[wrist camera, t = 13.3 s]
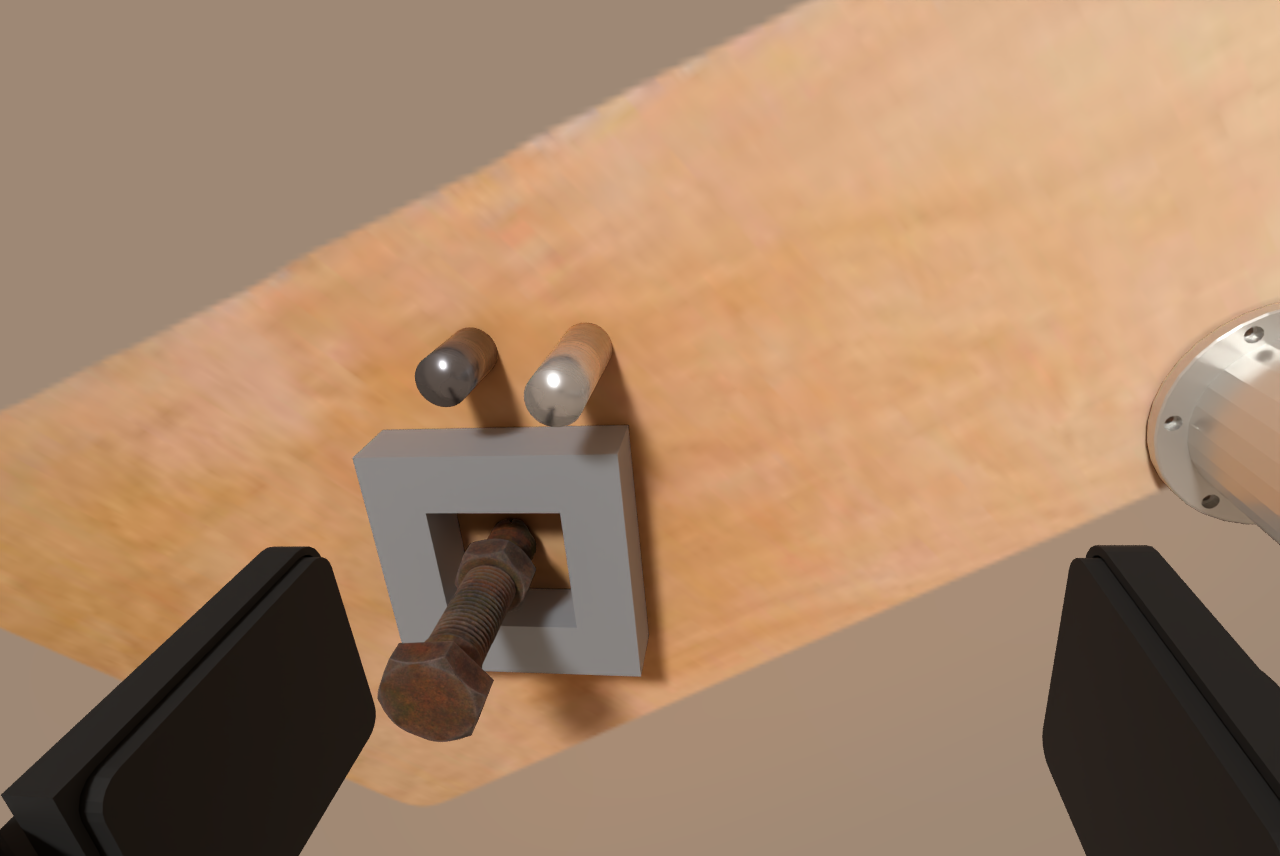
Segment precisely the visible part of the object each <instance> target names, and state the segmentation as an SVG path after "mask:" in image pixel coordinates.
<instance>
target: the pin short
mask: <svg viewBox="0 0 1280 856" xmlns="http://www.w3.org/2000/svg"><path fill="white" fill-rule="evenodd" d="M496 361H497V348H496V345H495V343H494V341H493V340H492V338H491V337H490V336H489V335H488V334H486V333H485V332H484V331H482V330H480V329H477V328H463V329H461V330H459V331H457V332H456V333H455V334H454V335H452V336H451V337H450V338H449V339H448V340H446V341H445V342H444V343H443V344H441V345H440V346H439V347H438V348H437V349H435V350H434V351H433V352H432V353H430V354H429V355H428V356H427V357H426V358H424V359H423V360H422V361H421V362H420V363H419V365H418V366H417V368H416V372H415V381H416V385H417V388H418V390H419V391H420V393H421V394H422V396H423V397H424V398H425V399H427V400H428V401H429V402H431V403H433V404H435V405H437V406H441V407H451V406H455V405H457V404H459V403H460V402H462V401H463V399H464V398H465V397H466V396H467V395H468V394H469V393H470V392H471V391H472V390H473V389H474V388H475V387H476V386H477V384H478V383H479V382H480V381H481V380H482V379H483V378H484V377H485V376H486V375H487V374H488V373H489V372H490V371H491V369H492V368H493V367H494V366H495V364H496Z"/></svg>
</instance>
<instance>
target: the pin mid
mask: <svg viewBox="0 0 1280 856" xmlns="http://www.w3.org/2000/svg"><path fill="white" fill-rule="evenodd" d="M611 355H612V343H611V340H610V338H609V336H608V334H607V333H606V332H605V331H604V330H603V329H602V328H601V327H599V326H597V325H595V324H592V323H579V324H576V325H574V326H572V327H571V328H569V329H568V331H567V332H566V333H565V334H564V336H563V337H562V338H561V340H560V341H559V342H558V343H557V345H556V346H555V347H554V349H553V350H552V351H551V353H550V354H549V355H548V357H547V358H546V359H545V360H544V362H543V363H542V364H541V366H540V367H539V368H538V370H537V371H536V372H535V373H534V375H533V376H532V377H531V379H530V380H529V381H528V383H527V385H526V387H525V391H524V401H525V404H526V407H527V409H528V411H529V412H530V414H531V415H532V416H533V417H534V418H535V419H536V420H537V421H539V422H540V423H542V424H544V425H547V426H551V427H564V426H567V425H570V424H572V423H573V422H575V421H576V420H577V419H578V418H579V416H580V415H581V413H582V411H583V409H584V407H585V405H586V404H587V402H588V400H589V398H590V396H591V394H592V392H593V390H594V388H595V387H596V385H597V383H598V381H599V379H600V377H601V375H602V373H603V371H604V370H605V368H606V366H607V364H608V362H609V360H610V358H611Z"/></svg>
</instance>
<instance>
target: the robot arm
mask: <svg viewBox="0 0 1280 856" xmlns="http://www.w3.org/2000/svg"><path fill="white" fill-rule="evenodd" d="M1246 331H1247V332H1246ZM1147 444H1148V449H1149V453H1150V458H1151V461H1152V463H1153V465H1154V467H1155V469H1156V471H1157V473H1158V475H1159V477H1160V478H1161V479H1162V480H1163V482H1164V483H1165V484H1166V485H1167V486H1168V487H1169V489H1170V490H1171V491H1172V492H1173V493H1175V494H1176V495H1177V496H1178V497H1179V498H1180V499H1181V500H1182V501H1184V502H1185V503H1186V504H1187V505H1189V506H1190V507H1192V508H1194V509H1195V510H1197V511H1199V512H1201V513H1203V514H1206V515H1208V516H1211V517H1214V518H1217V519H1221V520H1223V521H1229V522H1235V523H1241V524H1256V525H1258V526H1259V527H1260V528H1261V529H1262V530H1263V531H1264V532H1266V533H1267V534H1268V535H1269V536H1270V537H1271V538H1272V539H1274V540H1275V541H1276V542H1277V543H1278V544H1279V545H1280V302H1279V303H1274V304H1270V305H1267V306H1265V307H1262V308H1259V309H1256V310H1253V311H1250V312H1248V313H1245V314H1243V315H1241V316H1239V317H1237V318H1235V319H1233V320H1231V321H1229V322H1228V323H1226V324H1224V325H1222V326H1220V327H1218V328H1217V329H1216V330H1214V331H1213V332H1211V333H1210V334H1209V335H1207V336H1206V337H1204V338H1203V339H1202V340H1200V341H1199V342H1198V343H1196V344H1195V345H1194V346H1193V347H1192V348H1191V349H1190V350H1189V351H1188V352H1187V353H1186V354H1185V355H1184V356H1183V357H1182V358H1181V359H1180V360H1179V361H1178V362H1177V363H1176V365H1175V366H1174V368H1173V369H1172V370H1171V372H1170V373H1169V374H1168V376H1167V377H1166V378H1165V380H1164V381H1163V383H1162V385H1161V387H1160V389H1159V391H1158V393H1157V395H1156V397H1155V399H1154V401H1153V404H1152V408H1151V412H1150V416H1149V419H1148V430H1147ZM375 718H376V710H375V705H374V702H373V698H372V695H371V692H370V689H369V685H368V682H367V679H366V676H365V673H364V669H363V666H362V663H361V660H360V657H359V653H358V650H357V647H356V644H355V640H354V637H353V634H352V631H351V628H350V624H349V621H348V618H347V615H346V611H345V608H344V605H343V602H342V599H341V595H340V592H339V589H338V586H337V583H336V579H335V576H334V573H333V570H332V567H331V565H330V562H329V561H328V560H327V559H326V558H323V557H321V556H320V554H319V553H318V552H317V551H316V550H315V549H314V548H311V547H269V548H266V549H265V550H263V551H262V552H261V553H259V554H258V555H257V556H256V557H255V558H254V559H253V560H252V561H251V562H250V563H249V564H248V565H247V566H246V567H244V568H243V569H242V570H241V571H240V572H239V573H238V574H237V575H236V576H235V577H234V578H233V579H232V580H231V581H229V582H228V583H227V584H226V585H225V586H224V587H223V588H222V589H221V590H220V591H219V592H218V593H217V594H216V595H214V596H213V597H212V598H211V599H210V600H209V601H208V602H207V603H206V604H205V605H204V606H203V607H202V608H201V609H200V610H198V611H197V612H196V613H195V614H194V615H193V616H192V617H191V618H190V619H189V620H188V621H187V622H186V623H185V624H183V625H182V626H181V627H180V628H179V629H178V630H177V631H176V632H175V633H174V634H173V635H172V636H171V637H170V638H168V639H167V640H166V641H165V642H164V643H163V644H162V645H161V646H160V647H159V648H158V649H157V650H156V651H155V652H153V653H152V654H151V655H150V656H149V657H148V658H147V659H146V660H145V661H144V662H143V663H142V664H141V665H140V666H138V667H137V668H136V669H135V670H134V671H133V672H132V673H131V674H130V675H129V676H128V677H127V678H126V679H125V680H124V681H122V682H121V683H120V684H119V685H118V686H117V687H116V688H115V689H114V690H113V691H112V692H111V693H110V694H109V695H108V696H107V697H105V698H104V699H103V700H102V701H101V702H100V703H99V704H98V705H97V706H96V707H95V708H94V709H92V710H91V711H90V712H89V713H88V714H87V715H86V716H85V717H84V718H83V719H82V720H81V721H80V722H79V723H77V724H76V725H75V726H74V727H73V728H72V729H71V730H70V731H69V732H68V733H67V734H66V735H65V736H64V737H62V738H61V739H60V740H59V741H58V742H57V743H56V744H55V745H54V746H53V747H52V748H51V749H50V750H49V751H48V752H46V753H45V754H44V755H43V756H42V757H41V758H40V759H39V760H38V761H37V762H36V763H35V764H34V765H33V766H32V767H30V768H29V769H28V770H27V771H26V772H25V773H24V774H23V775H22V776H21V777H20V778H19V779H18V780H17V781H15V782H14V783H13V784H12V785H11V786H10V787H9V788H8V789H7V790H6V791H5V792H4V793H3V794H1V796H2V797H3V799H4V801H5V802H6V804H7V806H8V807H9V809H10V810H11V812H12V814H13V815H14V816H13V818H11V819H10V820H9V821H8V822H7V823H6V824H5V825H4V826H3V827H2V828H1V829H0V856H299V854H300V853H301V851H302V849H303V847H304V846H305V844H306V843H307V841H308V839H309V838H310V836H311V834H312V832H313V831H314V829H315V828H316V826H317V824H318V822H319V821H320V819H321V817H322V816H323V814H324V812H325V811H326V809H327V807H328V806H329V804H330V802H331V800H332V799H333V797H334V796H335V794H336V792H337V791H338V789H339V787H340V786H341V784H342V782H343V781H344V779H345V777H346V776H347V774H348V772H349V771H350V769H351V767H352V766H353V764H354V762H355V761H356V759H357V757H358V756H359V754H360V752H361V751H362V749H363V747H364V746H365V744H366V742H367V741H368V739H369V737H370V735H371V733H372V731H373V728H374V724H375ZM1042 738H1043V748H1044V754H1045V758H1046V762H1047V764H1048V767H1049V769H1050V772H1051V774H1052V777H1053V779H1054V781H1055V784H1056V786H1057V788H1058V791H1059V793H1060V795H1061V797H1062V800H1063V802H1064V804H1065V807H1066V809H1067V812H1068V814H1069V816H1070V819H1071V821H1072V823H1073V826H1074V828H1075V830H1076V833H1077V835H1078V837H1079V839H1080V842H1081V844H1082V847H1083V849H1084V851H1085V854H1086V856H1280V687H1279V686H1278V685H1277V684H1276V683H1275V682H1274V681H1273V680H1272V679H1271V678H1270V677H1268V676H1267V675H1266V674H1265V673H1264V672H1263V671H1261V670H1260V669H1259V668H1258V667H1257V666H1256V664H1255V663H1254V662H1253V661H1252V660H1251V659H1250V657H1249V656H1248V655H1247V654H1246V653H1245V652H1244V651H1243V649H1242V648H1241V647H1240V646H1239V645H1238V644H1237V642H1236V641H1235V640H1234V639H1233V638H1232V637H1231V635H1230V634H1229V633H1228V632H1227V631H1226V630H1225V629H1224V627H1223V626H1222V625H1221V624H1220V623H1219V622H1218V620H1217V619H1216V618H1215V617H1214V616H1213V615H1212V613H1211V612H1210V611H1209V610H1208V609H1207V608H1206V607H1205V606H1204V604H1203V603H1202V602H1201V601H1200V600H1199V598H1198V597H1197V596H1196V595H1195V594H1194V593H1193V592H1192V590H1191V589H1190V588H1189V587H1188V586H1187V585H1186V583H1185V582H1184V581H1183V580H1182V579H1181V578H1180V577H1179V576H1178V574H1177V573H1176V572H1175V571H1174V570H1173V568H1172V567H1171V566H1170V565H1169V564H1168V563H1167V562H1166V560H1165V559H1164V558H1163V557H1162V556H1161V555H1160V553H1159V552H1158V551H1157V550H1155V549H1154V548H1153V547H1151V546H1147V545H1125V546H1124V545H1107V546H1106V545H1097V546H1093V547H1091V548H1090V549H1089V551H1088V552H1087V555H1086V558H1076V559H1074V560H1073V561H1072V563H1071V565H1070V568H1069V573H1068V579H1067V585H1066V592H1065V598H1064V604H1063V610H1062V616H1061V622H1060V628H1059V635H1058V641H1057V647H1056V653H1055V659H1054V665H1053V671H1052V677H1051V683H1050V689H1049V695H1048V702H1047V708H1046V714H1045V720H1044V726H1043V735H1042Z"/></svg>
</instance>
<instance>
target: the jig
mask: <svg viewBox="0 0 1280 856" xmlns="http://www.w3.org/2000/svg"><path fill="white" fill-rule="evenodd" d="M353 462H354V465H355V469H356V473H357V477H358V480H359V484H360V488H361V492H362V495H363V499H364V503H365V507H366V510H367V514H368V518H369V522H370V525H371V529H372V533H373V537H374V540H375V544H376V548H377V552H378V555H379V559H380V563H381V567H382V570H383V574H384V578H385V582H386V585H387V589H388V593H389V597H390V600H391V604H392V608H393V612H394V615H395V619H396V623H397V626H398V630H399V634H400V638H401V641H402V643H415V642H425V641H426V640H427V639H428V638H429V636H430V635H431V633H432V632H433V630H434V628H435V626H436V625H437V623H438V621H439V619H440V618H441V616H442V614H443V613H444V611H445V609H446V608H447V606H448V604H449V603H450V601H451V600H452V598H453V597H454V594H455V593H456V591H457V587H456V585H455V579H456V575H457V572H458V569H459V566H460V563H461V561H462V558H463V556H464V553H465V551H464V546H463V542H462V537H461V532H460V528H459V523H458V518H457V513H560V516H561V523H562V530H563V537H564V543H565V550H566V557H567V564H568V571H569V578H570V585H571V589H528V592H527V594H526V597H525V599H524V601H523V604H522V606H521V608H520V610H516V611H513V612H509V613H507V614H506V616H505V618H504V620H503V622H502V624H501V627H500V629H499V631H498V633H497V636H496V638H495V640H494V642H493V644H492V645H491V648H490V650H489V652H488V654H487V656H486V658H485V660H484V662H483V664H482V669H483V670H484V671H496V672H524V673H553V674H582V675H611V676H639V677H641V674H642V669H643V664H644V658H645V653H646V648H647V643H648V637H649V632H648V621H647V611H646V601H645V591H644V580H643V570H642V560H641V550H640V540H639V529H638V519H637V509H636V499H635V488H634V478H633V468H632V458H631V447H630V437H629V427H628V425H608V426H564V427H507V428H457V429H407V430H382V431H381V432H380V433H379V434H378V435H377V436H376V437H375V438H374V439H372V440H371V441H370V442H369V443H368V444H367V445H366V446H365V447H364V448H363V449H362V450H361V451H359V452H358V453H357V454H356V455H355V456H354V457H353Z"/></svg>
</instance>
